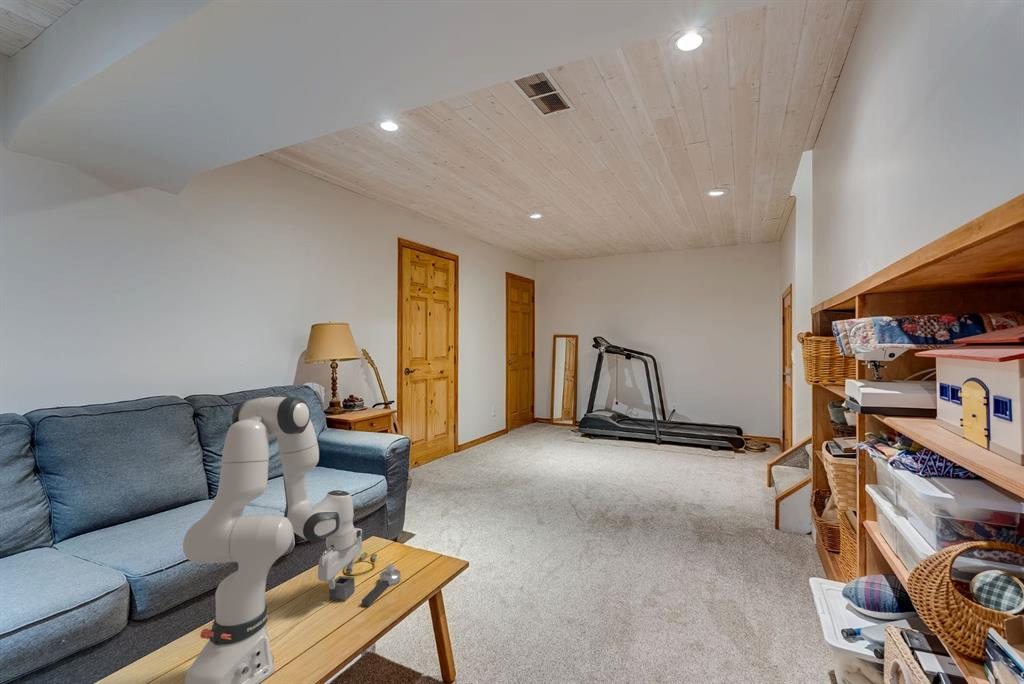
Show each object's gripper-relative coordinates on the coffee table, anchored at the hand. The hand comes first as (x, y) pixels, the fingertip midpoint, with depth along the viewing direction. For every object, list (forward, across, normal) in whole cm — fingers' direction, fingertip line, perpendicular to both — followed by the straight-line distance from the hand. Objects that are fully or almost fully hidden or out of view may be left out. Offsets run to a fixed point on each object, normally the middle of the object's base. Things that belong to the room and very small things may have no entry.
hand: (341, 580), depth 154 cm
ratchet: (+5, +5, -12) cm, 14 cm away
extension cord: (+6, +19, +4) cm, 21 cm away
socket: (+5, -1, -1) cm, 5 cm away
